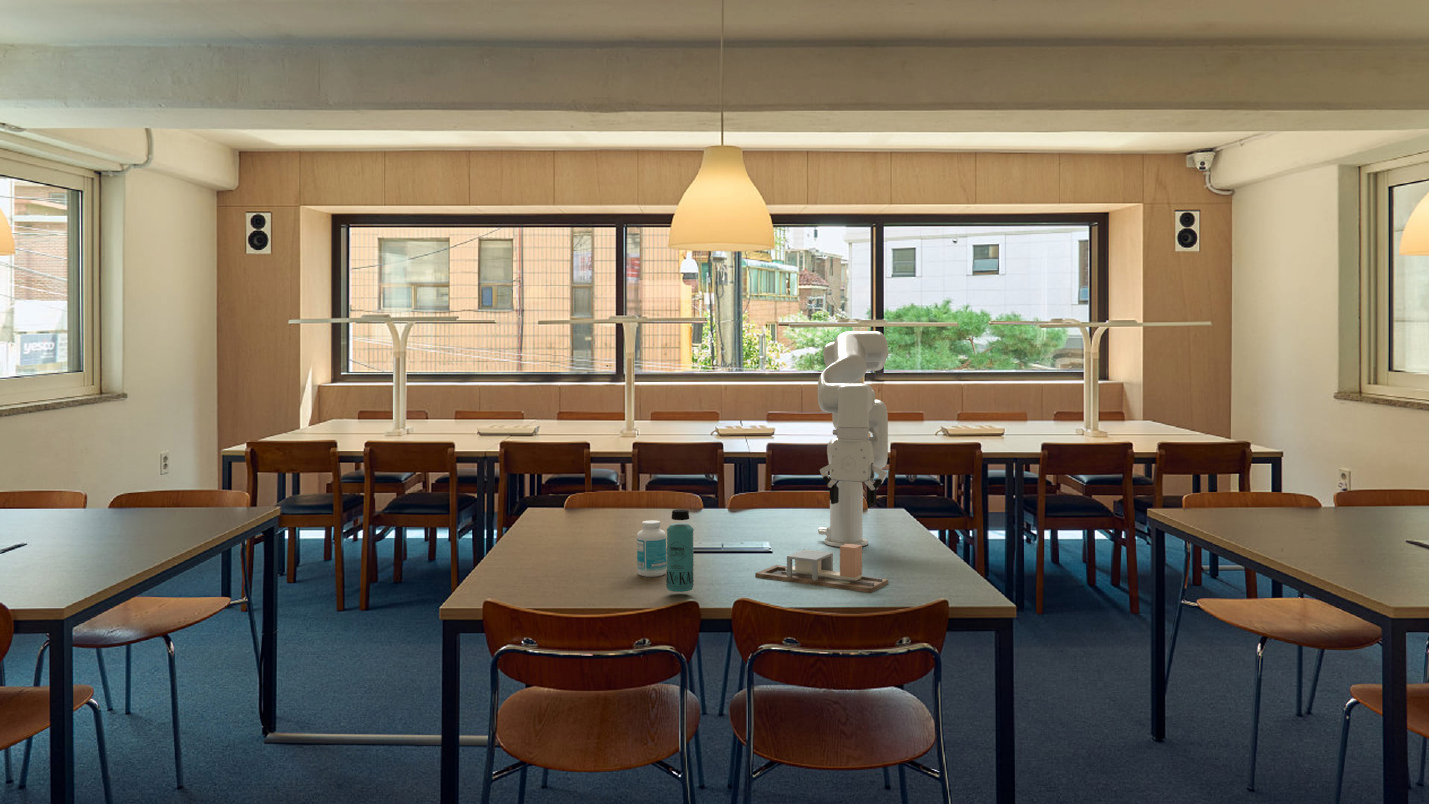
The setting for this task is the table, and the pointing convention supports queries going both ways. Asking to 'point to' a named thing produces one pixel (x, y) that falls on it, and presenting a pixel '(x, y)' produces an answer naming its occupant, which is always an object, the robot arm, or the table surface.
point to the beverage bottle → (680, 554)
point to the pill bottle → (651, 550)
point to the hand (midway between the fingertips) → (852, 504)
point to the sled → (848, 564)
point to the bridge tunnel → (814, 558)
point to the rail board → (823, 580)
